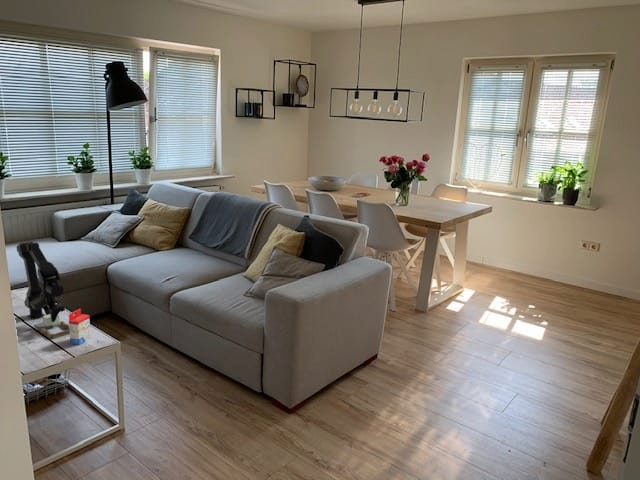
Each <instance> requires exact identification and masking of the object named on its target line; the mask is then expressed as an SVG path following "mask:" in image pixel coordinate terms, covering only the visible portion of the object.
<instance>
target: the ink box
mask: <svg viewBox="0 0 640 480" xmlns="http://www.w3.org/2000/svg"><path fill="white" fill-rule="evenodd" d="M90 323H91V322H90V315H89V314H83V313H82V309H81V308H78V309H76V310H75V311H72V312H71V313H69V314H68V325H69V331H70V334H69V341H70V344H71V345H78V346H80V345H82V344H83V343H85V342H86V341H88V340H89V339H91V324H90Z"/></svg>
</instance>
